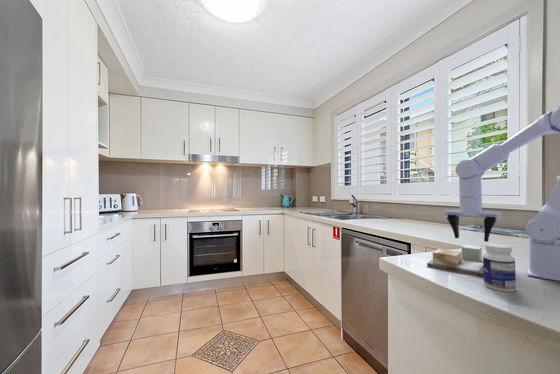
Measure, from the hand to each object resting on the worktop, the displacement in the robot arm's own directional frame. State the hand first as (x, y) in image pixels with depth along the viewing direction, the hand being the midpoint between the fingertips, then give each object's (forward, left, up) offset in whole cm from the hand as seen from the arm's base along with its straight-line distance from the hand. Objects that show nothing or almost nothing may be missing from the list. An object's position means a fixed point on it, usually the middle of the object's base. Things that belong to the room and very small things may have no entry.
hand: (471, 239), depth 81 cm
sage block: (0, 0, -7) cm, 7 cm away
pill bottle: (-9, +23, -7) cm, 26 cm away
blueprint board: (+1, +11, -7) cm, 13 cm away
